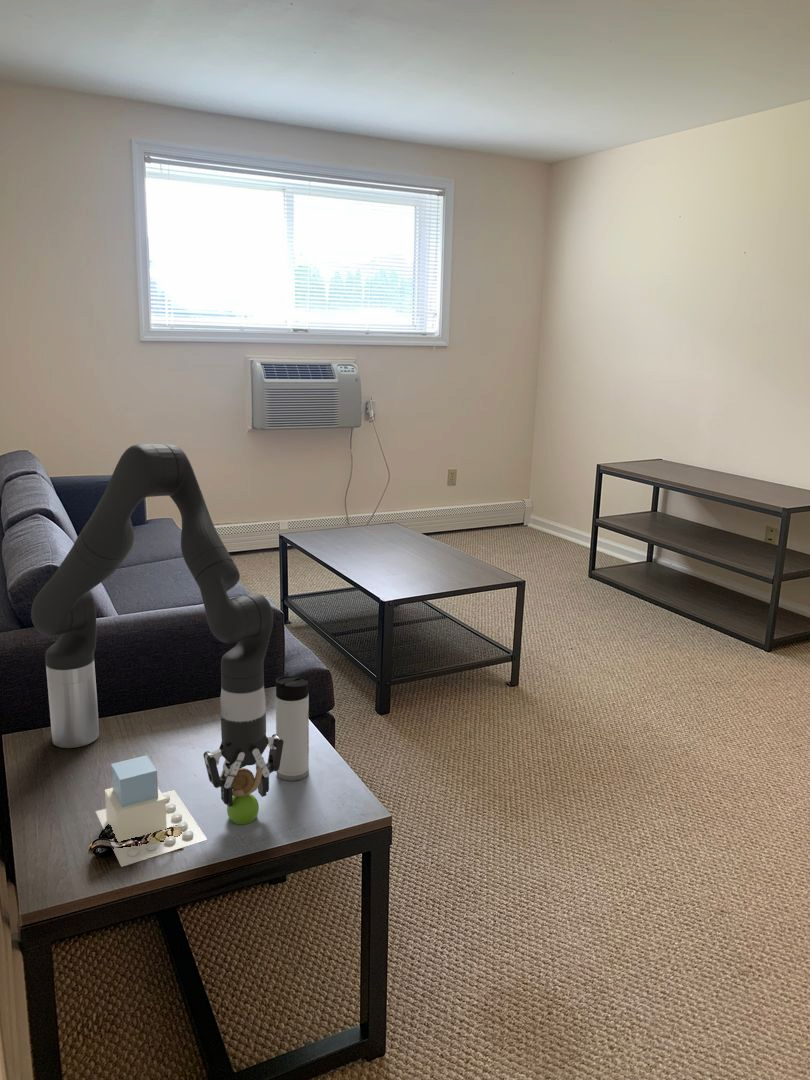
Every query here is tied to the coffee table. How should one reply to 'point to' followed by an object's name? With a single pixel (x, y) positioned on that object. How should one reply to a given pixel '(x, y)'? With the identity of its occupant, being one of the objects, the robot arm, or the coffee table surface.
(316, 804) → the coffee table surface
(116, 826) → the base brick
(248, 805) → the snail figurine
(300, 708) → the travel mug
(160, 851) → the build plate
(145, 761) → the blue brick
